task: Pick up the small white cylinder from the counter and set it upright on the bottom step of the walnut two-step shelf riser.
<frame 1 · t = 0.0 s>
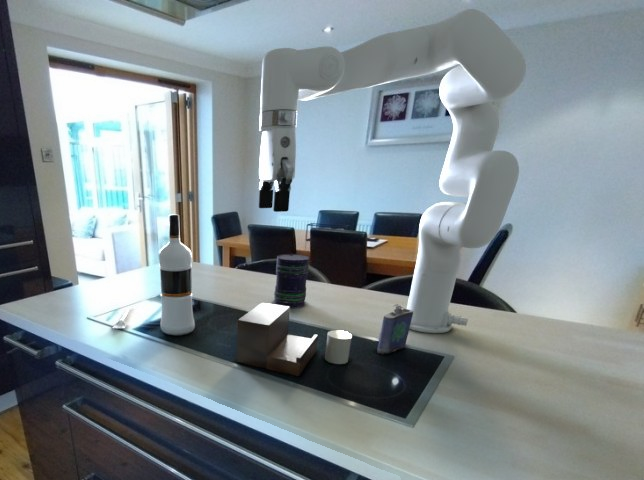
hand: (272, 209, 87), 31 cm above the table, tool pointing down, fingers open, 9 cm apart
shelf riser: (277, 356, 89), on the table
storage jar: (289, 303, 125), on the table
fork: (123, 321, 113), on the table
flask: (390, 349, 92), on the table
white cylinder: (336, 359, 87), on the table
vodka: (177, 330, 105), on the table
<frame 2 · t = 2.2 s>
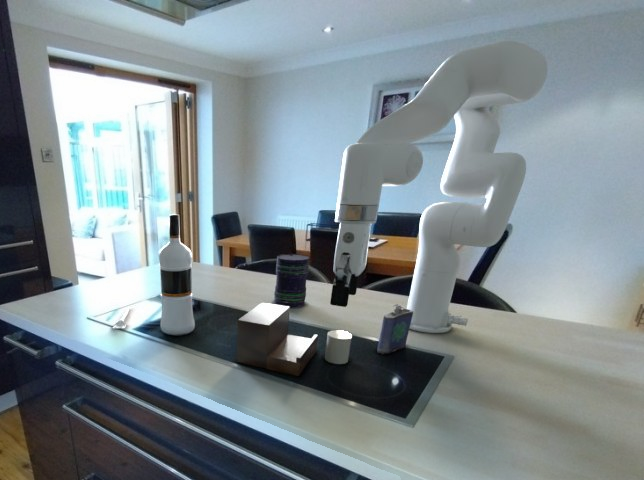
hand: (343, 299, 81), 14 cm above the table, tool pointing down, fingers open, 9 cm apart
nothing on the table moved.
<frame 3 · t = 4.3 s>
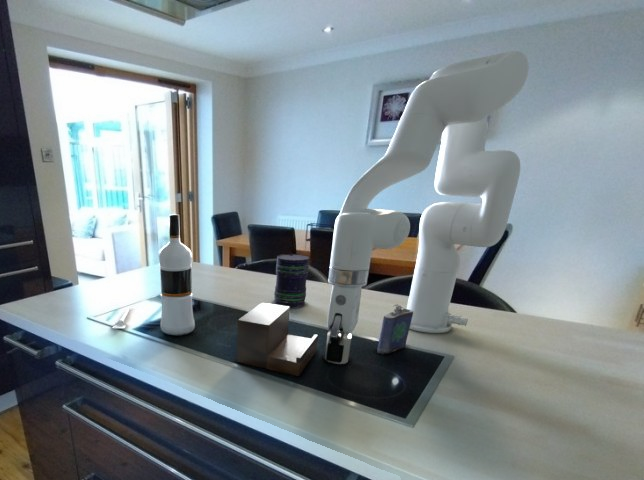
hand: (336, 355, 87), 1 cm above the table, tool pointing down, fingers closed on white cylinder, 5 cm apart
white cylinder: (336, 359, 87), on the table, touching gripper
everything else where it was.
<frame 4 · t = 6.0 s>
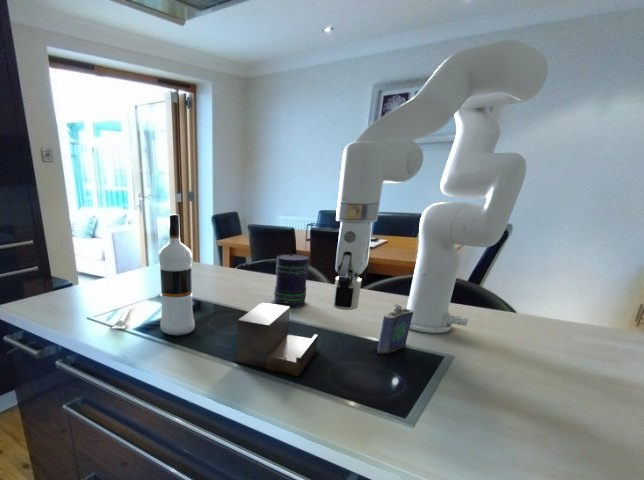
hand: (345, 301, 82), 13 cm above the table, tool pointing down, fingers closed on white cylinder, 5 cm apart
white cylinder: (345, 306, 83), point 12 cm above the table, touching gripper
everything else where it was.
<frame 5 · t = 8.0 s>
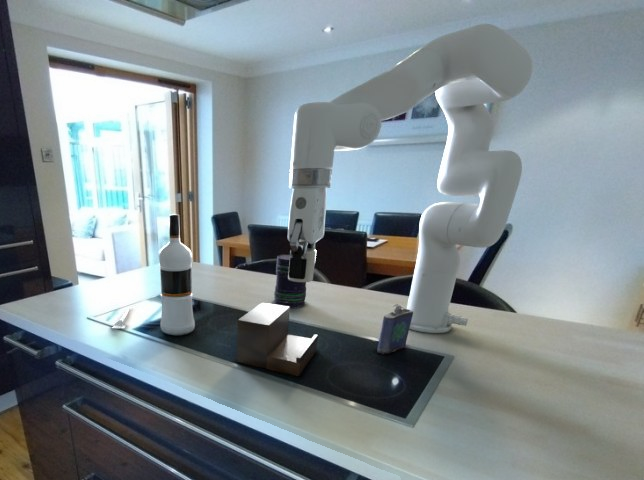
hand: (300, 274, 80), 20 cm above the table, tool pointing down, fingers closed on white cylinder, 5 cm apart
white cylinder: (300, 279, 80), point 18 cm above the table, touching gripper
everything else where it was.
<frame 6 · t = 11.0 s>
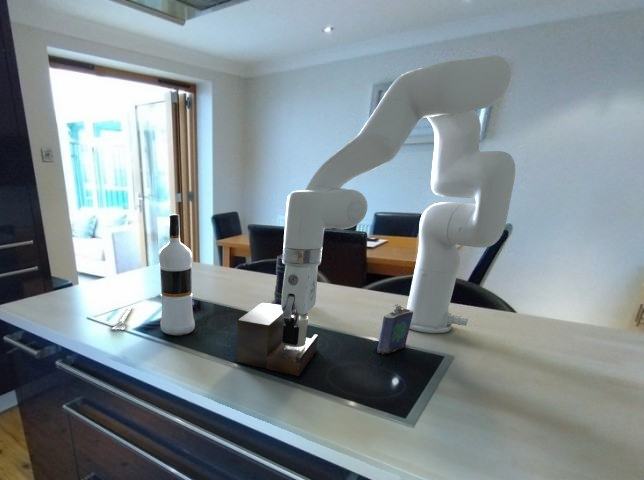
hand: (294, 338, 85), 5 cm above the table, tool pointing down, fingers closed on white cylinder, 5 cm apart
white cylinder: (293, 342, 85), point 4 cm above the table, touching gripper
everything else where it was.
when the fingers open (4 cm above the table, at t = 11.8 s): white cylinder stays where it is, resting on shelf riser.
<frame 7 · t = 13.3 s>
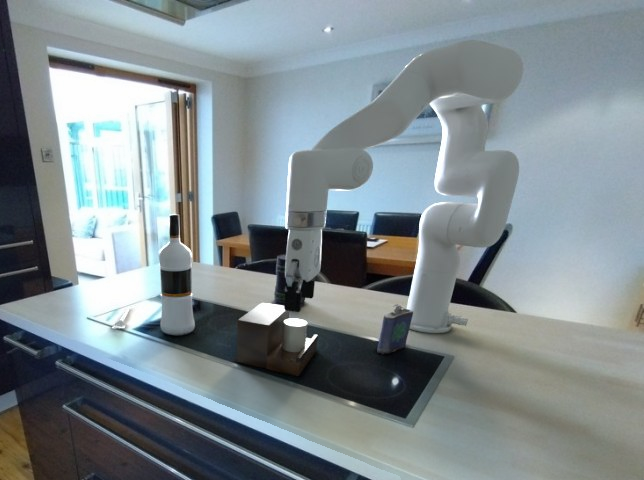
hand: (299, 303, 82), 13 cm above the table, tool pointing down, fingers open, 9 cm apart
white cylinder: (293, 347, 86), point 3 cm above the table, touching shelf riser
everything else where it was.
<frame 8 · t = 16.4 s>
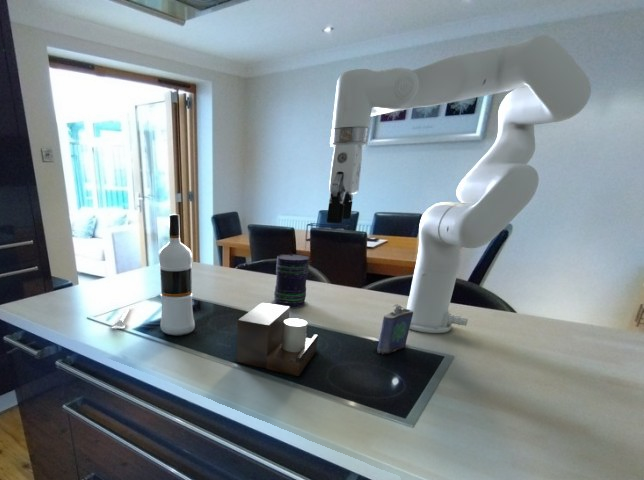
hand: (338, 220, 91), 28 cm above the table, tool pointing down, fingers open, 9 cm apart
nothing on the table moved.
at the end: white cylinder inside the target area on the shelf riser (0.0 cm from its centre), point 3.0 cm above the shelf riser's base; white cylinder tilted 0°; the gripper is holding nothing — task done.
